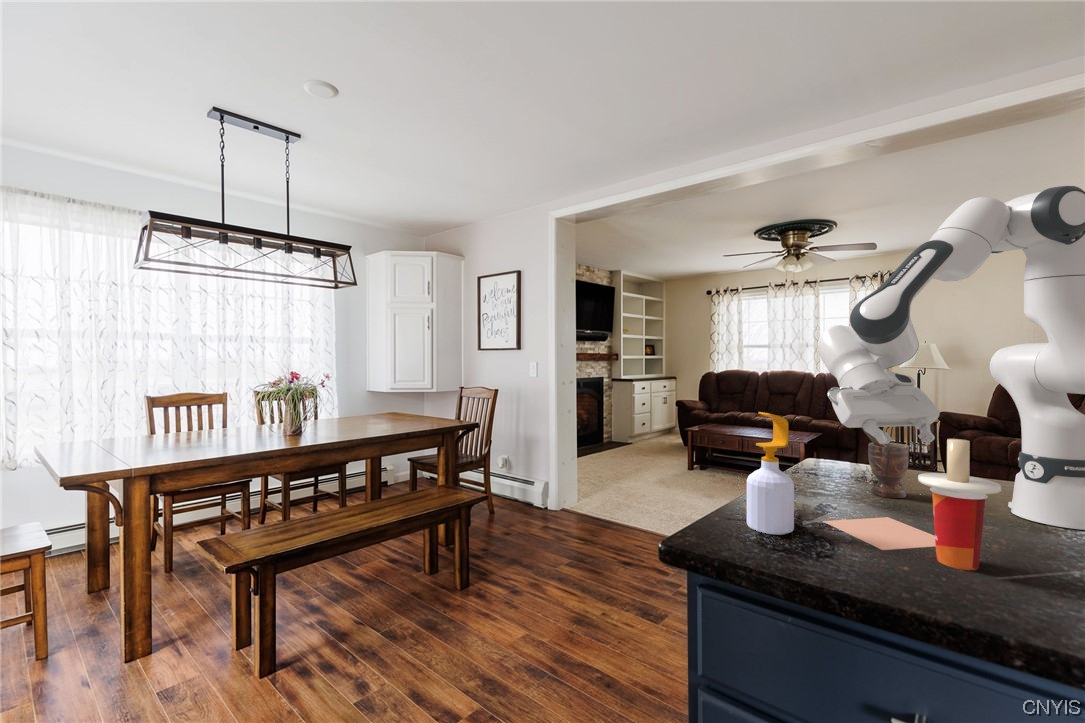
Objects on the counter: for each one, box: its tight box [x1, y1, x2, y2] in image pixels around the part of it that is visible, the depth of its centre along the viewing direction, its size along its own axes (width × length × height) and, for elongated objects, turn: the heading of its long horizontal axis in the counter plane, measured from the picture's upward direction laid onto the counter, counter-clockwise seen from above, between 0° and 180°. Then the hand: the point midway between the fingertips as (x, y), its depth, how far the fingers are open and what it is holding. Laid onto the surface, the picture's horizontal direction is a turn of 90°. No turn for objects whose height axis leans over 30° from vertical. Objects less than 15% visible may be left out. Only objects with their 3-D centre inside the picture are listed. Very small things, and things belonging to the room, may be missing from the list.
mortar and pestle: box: [860, 427, 910, 499], centre depth 128 cm, size 12×9×20 cm
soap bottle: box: [746, 411, 795, 536], centre depth 105 cm, size 9×9×25 cm
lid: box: [917, 438, 1002, 495], centre depth 86 cm, size 11×11×8 cm
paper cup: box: [929, 487, 989, 571], centre depth 86 cm, size 8×8×14 cm
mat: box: [822, 516, 936, 551], centre depth 101 cm, size 16×16×1 cm
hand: (908, 441), depth 95 cm, fingers open, 8 cm apart
